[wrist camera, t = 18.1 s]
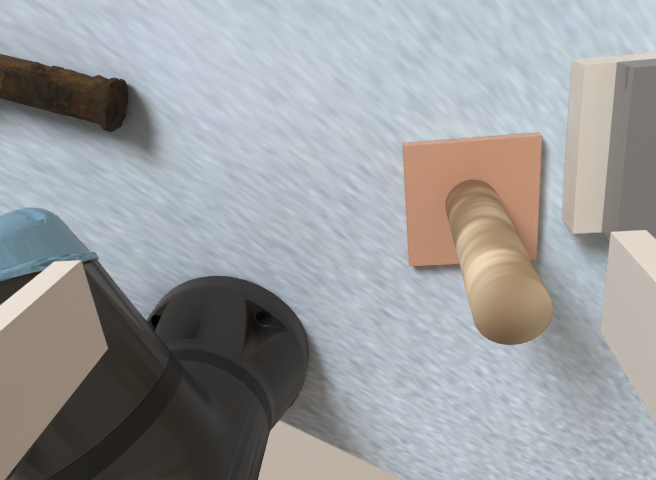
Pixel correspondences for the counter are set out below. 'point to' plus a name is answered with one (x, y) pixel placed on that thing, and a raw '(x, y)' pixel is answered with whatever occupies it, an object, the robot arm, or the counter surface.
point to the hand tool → (64, 91)
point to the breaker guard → (611, 145)
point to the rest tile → (461, 165)
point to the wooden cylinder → (496, 267)
